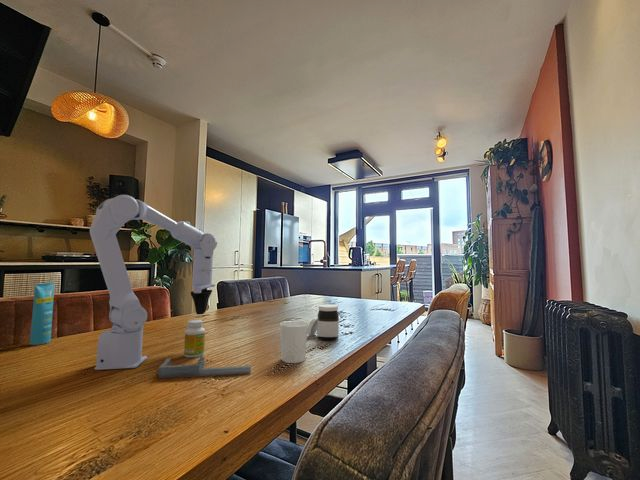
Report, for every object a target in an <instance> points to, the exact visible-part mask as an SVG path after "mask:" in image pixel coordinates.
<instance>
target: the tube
mask: <svg viewBox="0 0 640 480" xmlns="http://www.w3.org/2000/svg"><path fill="white" fill-rule="evenodd" d="M33 295H34V296H33V303H32V315H31V326H30V336H29V337H30V339H29V345H32V346H37V345H38V346H39V345H44V344H45V343H46V344H49V343H51V340H52V329H53V328H52V327H53V326H52V325H53V313H54V312H53V310H54V301H55V300H54V298H55V297H54V296H55V281H51V282H45V283H36V284H35V286H34V294H33Z"/></svg>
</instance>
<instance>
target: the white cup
mask: <svg viewBox="0 0 640 480" xmlns="http://www.w3.org/2000/svg"><path fill="white" fill-rule="evenodd" d="M308 326H309V324H308V322H306V321H302V320H285V321H282V322H280V323H279V332H280V333H279V334H280V335H279V336H280V337H279V339H280V340H279V341H280V342H279V343H280V360H281V361H282V362H284V363H287V364H298V363H302V362H304V361H306V351H307V342H308V341H307V340H308V333H307V330H308Z"/></svg>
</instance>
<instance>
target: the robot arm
mask: <svg viewBox="0 0 640 480" xmlns="http://www.w3.org/2000/svg"><path fill="white" fill-rule="evenodd" d="M95 211H96V212H95V215H94V217H93V220H92V223H91V225H90V228H89V235H90V238H91V241H92V244H93V248H94V250H95V254H96V257H97V259H98V263H99V266H100V270H101V272H102V276H103V279H104V282H105V284H106V288H107V291H108V294H109V301H108V303H109V304H108V305H109V312H108V313H109V314H108V317H109V321H110V322H111V323H112V326H111V328H110V329H108V330H104V331H102V332H101V333H100V335H99V337H98V340H97V346H96V347H97V348H96V350H97V351H96V362H95V363H96V365H95V367H94V370H95V371H98V370H99V371H100V370H115V369H116V370H118V369H119V370H121V369H136V368H138V366H140V365H141V364H142V363H143V362H144V361H145V360H147V358H148V356H147V355H143V337H144V325H145V324H146V322H147V321H148V320H147V319H148V311H147V310H146V309H145V308H144V307H143V306H142V305H141V303H140V299H139V298H138V297H137V295H136V294H135V293H134V290H133V287H132V283H131V281H130V277H129V273H128V271H127V267H126V264H125V261H124V258H123V254H122V251H121V248H120V245H119V241H118V238H117V233H118V232H120V231H119V230H121V228H122V227H123V226H124V225H125V224H126V223H128V222H130V221H133V220H137V221H138V220H143V221H146V222H148V223H150V224H152V225H155V226H156V227H159V228H162V229H163V230H166V231H168V232H169V233H170V235H171V237H172V238H173V239H176V240H178V241H179V242H181V243H183V244H186V245H187V246H190V247H191V249H192V250H193V265H192V266H193V269H192V284H191V288H193V291H192V290H191V291H190V296H191V297H192V300H193V304H194V309H195V314H196V315H204V314H206V311H207V307H208V303H209V299H210V296H211V295H212V293H213V289H210V288H214V287H216V284H215V283H212V282H213V281H212V280H213V259H214V252H215V249H217V245H218V242H217V241H216V238H215V237H214V235H213V234H211V233H204V230H203V229H202V228H201V229H200V228H199V229H198V228H196V227H195V226H193V225H192V224H191V222H190V221H187V220H185V221H183V220H180V221H175V220H173V219H171V218H170V217H168V216H166V215H165V214H163V213H161V212H160V211H158V210H157V209H155V208H153V207H151V206H149V205H148V204H147V203H145V202H144V201H142V200H140V199H135V197H133V196H131V195H128V194H119V195H117V196H115V197H113V198H108V199H105V200H104V201H103V202H101V204H100V205H99V206H98V207H97V208H96V209H95Z"/></svg>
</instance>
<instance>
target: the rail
mask: <svg viewBox="0 0 640 480" xmlns="http://www.w3.org/2000/svg"><path fill="white" fill-rule="evenodd" d="M251 372H252V365H241V366H240V365H236V366H216V367H205V356H199V358H198V360H197V362H196V364H178V365H177V364H176V365H175V364H174V365H172V358H171V357H167V358H166V359H165V361H163V362H162V364H160V365H159V367H158V374H157V376H158V378H157V379H175V378H178V379H179V378H191V377H208V376H209V377H211V376H226V375H228V376H229V375H244V374H251Z"/></svg>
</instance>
